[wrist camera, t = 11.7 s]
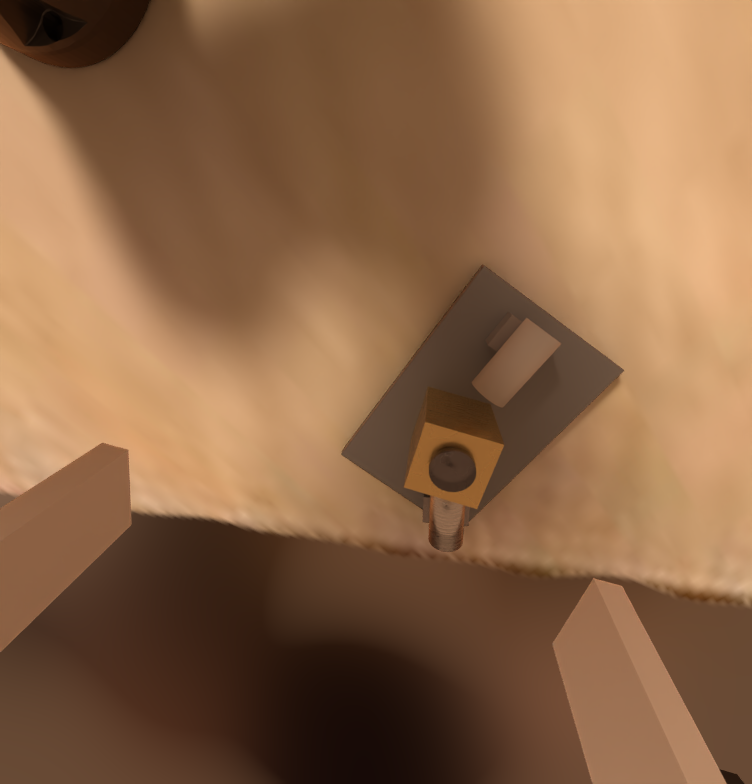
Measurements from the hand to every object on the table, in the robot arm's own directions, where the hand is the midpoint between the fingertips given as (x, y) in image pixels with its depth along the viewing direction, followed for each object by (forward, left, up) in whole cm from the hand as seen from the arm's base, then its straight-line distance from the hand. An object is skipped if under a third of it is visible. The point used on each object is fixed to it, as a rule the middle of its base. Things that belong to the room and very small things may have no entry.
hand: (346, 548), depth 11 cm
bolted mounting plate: (0, +6, -20) cm, 21 cm away
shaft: (+7, +9, -19) cm, 22 cm away
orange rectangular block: (+2, +6, -19) cm, 20 cm away
